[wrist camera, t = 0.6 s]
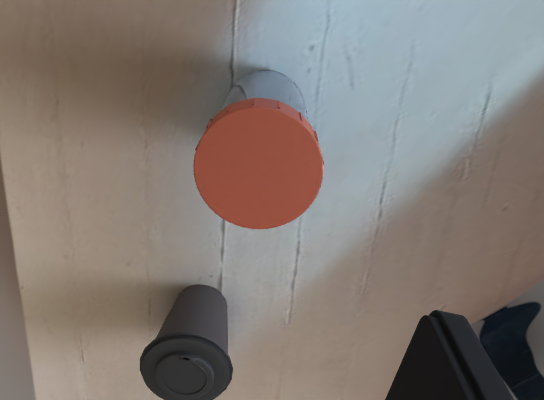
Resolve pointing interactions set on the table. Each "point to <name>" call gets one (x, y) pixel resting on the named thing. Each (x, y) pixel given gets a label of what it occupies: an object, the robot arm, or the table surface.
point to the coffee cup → (190, 348)
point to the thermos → (267, 90)
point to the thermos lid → (258, 164)
